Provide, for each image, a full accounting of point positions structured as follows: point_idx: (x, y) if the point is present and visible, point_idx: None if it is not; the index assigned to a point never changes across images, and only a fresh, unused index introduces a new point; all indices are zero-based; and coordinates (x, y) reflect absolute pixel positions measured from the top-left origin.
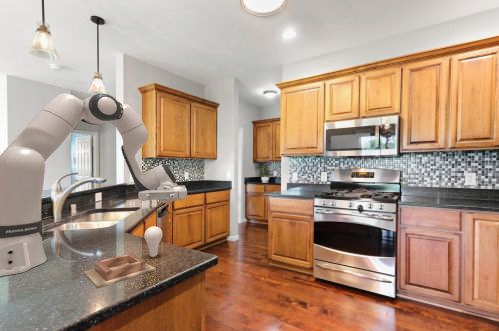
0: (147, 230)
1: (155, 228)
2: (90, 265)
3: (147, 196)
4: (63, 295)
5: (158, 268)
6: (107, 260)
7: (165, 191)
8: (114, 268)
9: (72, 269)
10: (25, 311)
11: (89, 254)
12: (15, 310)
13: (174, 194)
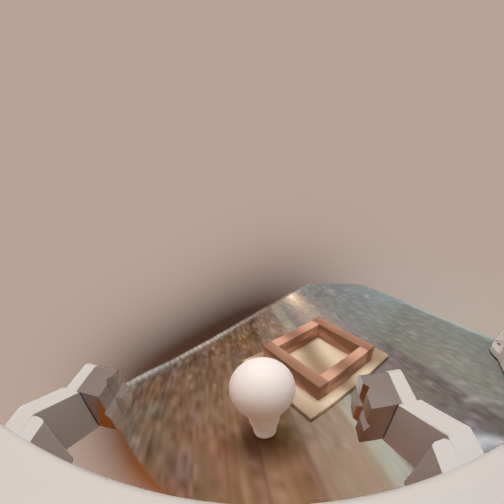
0: (280, 362)
1: (250, 360)
2: None
3: (382, 375)
4: (355, 312)
5: None
6: (353, 352)
7: (136, 491)
8: (312, 325)
9: (427, 369)
10: (366, 294)
11: None
12: (378, 295)
13: (71, 389)
